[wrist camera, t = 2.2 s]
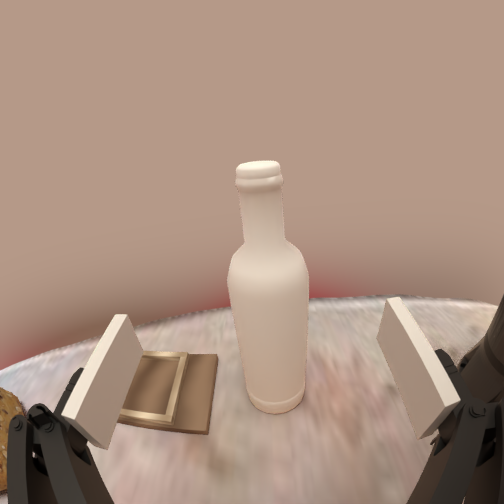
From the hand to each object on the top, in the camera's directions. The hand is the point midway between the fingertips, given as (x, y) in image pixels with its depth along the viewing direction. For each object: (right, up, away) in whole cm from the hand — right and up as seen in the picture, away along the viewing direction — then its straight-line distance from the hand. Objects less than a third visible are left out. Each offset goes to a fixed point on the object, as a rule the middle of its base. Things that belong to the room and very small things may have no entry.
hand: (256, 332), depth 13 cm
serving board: (-17, -17, +23) cm, 33 cm away
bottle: (+3, -16, +22) cm, 27 cm away
